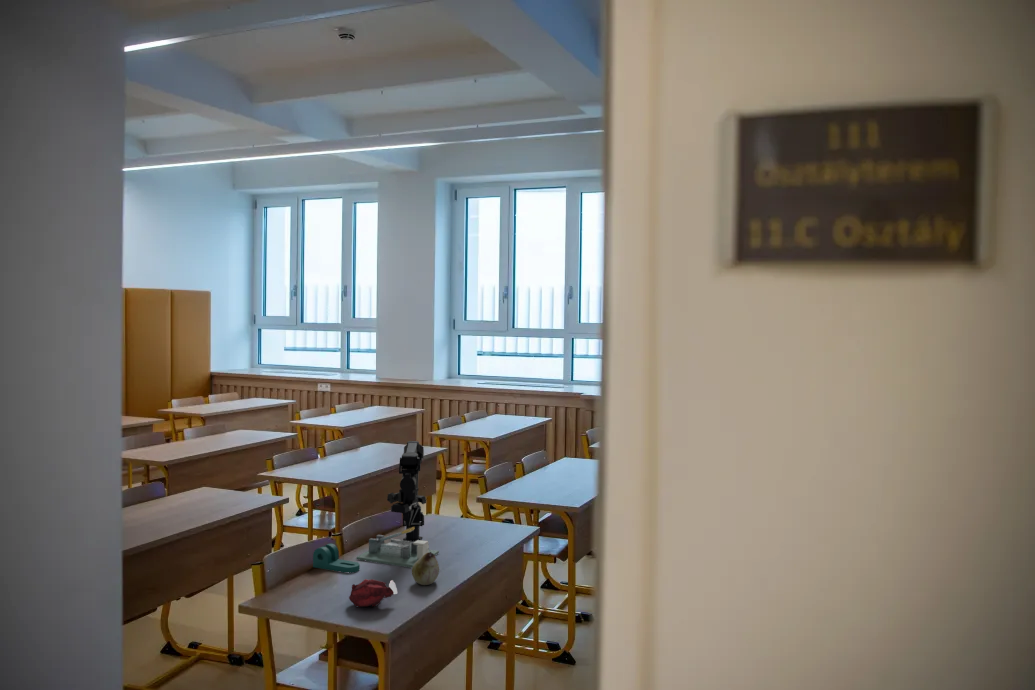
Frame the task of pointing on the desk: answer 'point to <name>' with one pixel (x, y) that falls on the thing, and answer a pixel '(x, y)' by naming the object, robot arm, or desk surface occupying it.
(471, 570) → the desk surface
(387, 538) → the gold-ended metal bar
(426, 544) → the white block
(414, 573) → the fruit
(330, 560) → the bracket
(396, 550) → the grey rail mechanism
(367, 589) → the red meat drumstick
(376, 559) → the board
